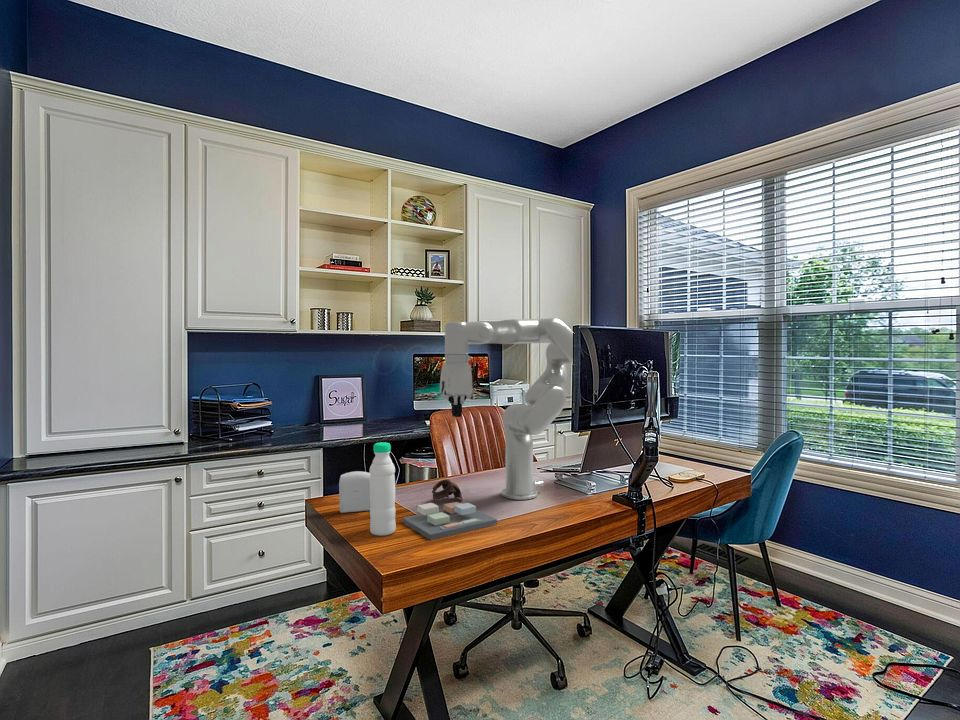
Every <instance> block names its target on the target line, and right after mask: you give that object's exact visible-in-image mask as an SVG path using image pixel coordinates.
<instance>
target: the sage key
mask: <svg viewBox="0 0 960 720" xmlns="http://www.w3.org/2000/svg"><path fill="white" fill-rule="evenodd" d="M427 521H428V522H429V523H431V524H433V525H435V526H436V525H440V524H445V523H449V522H450V516H448V515H446V514H445V513H443V512H440V513H436V514H431V515H427Z"/></svg>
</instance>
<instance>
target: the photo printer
mask: <svg viewBox="0 0 960 720" xmlns="http://www.w3.org/2000/svg"><path fill="white" fill-rule="evenodd" d="M338 487H339V488H338V491H339V493H338V494H339V495H338V497H339V512H340V513H341V514H342V513H343V514H345V513H355V512H364V511H370V508H371V505H370V472H367V471H362V470H361V471H360V470H359V471H358V470H355V471H350V472H345V473H342V474H341V475H340V477H339V483H338Z"/></svg>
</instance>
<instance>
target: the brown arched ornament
mask: <svg viewBox="0 0 960 720" xmlns="http://www.w3.org/2000/svg"><path fill="white" fill-rule="evenodd" d="M440 487H442V490H440V491H437V490H438V489H439V488H440ZM431 493H432V500H433V502H436V501H439V500H442V499H445V498H447V499H449V498H450V496H452V495H453V498H454V499H460V502H461V503H462V502H463V496H462V495H463V494H462V492H461V490H460V487H459V486H458V485H457V484H456V483H455V482H453V481H451V479H448V478H447V479H446V478H445V479H442V480H440V481H438V482H437V483H436V484H434V486H433V487H432V490H431Z"/></svg>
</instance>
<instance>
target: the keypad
mask: <svg viewBox="0 0 960 720" xmlns="http://www.w3.org/2000/svg"><path fill="white" fill-rule="evenodd" d="M440 512H443V513H445V514H446V515H448V516H450V522H449V523H445V524H440V525H436V526H435V525H433V524H431V523H429V522H428V521H427V515H423V514H421V513H419V514H415V515H410V516H404V517H402V524H404V525H406V526H407V527H409V528H411V529H412V530H413V531H415V532H417V533H418V534H419V535H422V536H423V537H425V538H427V539H428V540H429V541H433V540H437V539H441V538H442V539H443V538H446V537H449V536H450V537H451V536H454V535H459V534H462V533H467V532H471V531H475V530H480V529H484V528H488V527H492V526H496V525H497V524H498V518H495V517H494V516H490V515H489V514H486V513H484V512H482V511H480V510H478V509H476V512H475V513H471V514H466V515H461V514H458V513H454V514H450V513H448V512H446V511H444V508H443V509H439V512H438V513H440ZM434 514H436V513H434ZM429 515H431V514H429Z"/></svg>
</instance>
